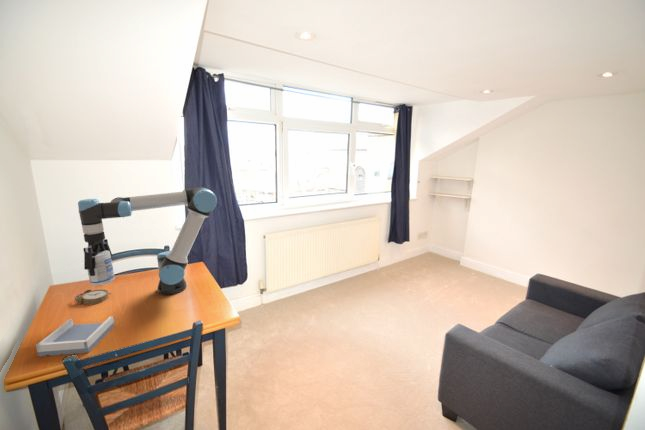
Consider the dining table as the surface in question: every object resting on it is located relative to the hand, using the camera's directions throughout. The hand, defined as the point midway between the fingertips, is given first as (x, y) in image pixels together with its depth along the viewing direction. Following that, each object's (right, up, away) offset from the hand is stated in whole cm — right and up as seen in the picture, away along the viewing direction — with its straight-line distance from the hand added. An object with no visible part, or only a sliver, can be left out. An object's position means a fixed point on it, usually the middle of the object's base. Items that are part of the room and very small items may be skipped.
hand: (102, 276), depth 135 cm
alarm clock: (-19, -17, +17) cm, 31 cm away
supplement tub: (0, -3, +1) cm, 3 cm away
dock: (+2, -24, -15) cm, 28 cm away
